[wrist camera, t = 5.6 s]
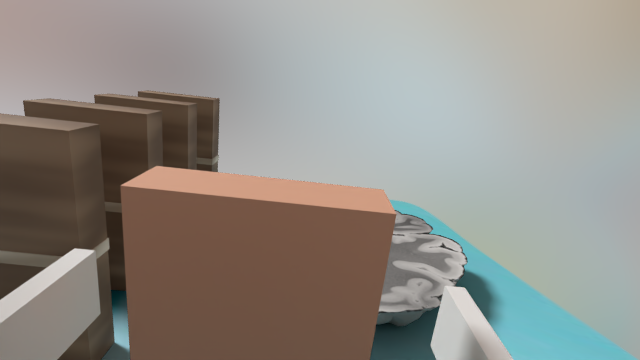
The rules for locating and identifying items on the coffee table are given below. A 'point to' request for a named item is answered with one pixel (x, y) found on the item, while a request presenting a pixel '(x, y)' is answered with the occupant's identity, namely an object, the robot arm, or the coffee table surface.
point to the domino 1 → (113, 157)
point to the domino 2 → (54, 211)
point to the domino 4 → (199, 126)
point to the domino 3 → (167, 126)
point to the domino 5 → (252, 266)
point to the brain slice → (417, 271)
